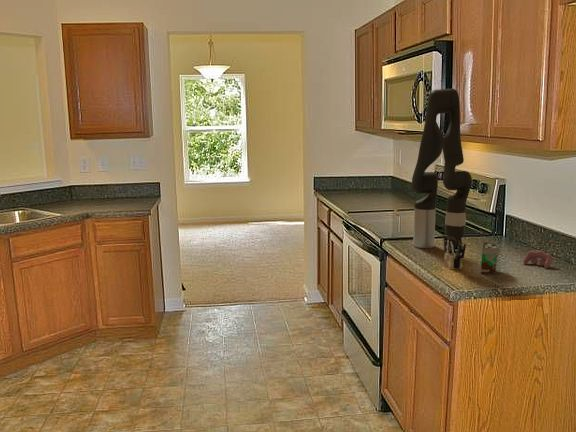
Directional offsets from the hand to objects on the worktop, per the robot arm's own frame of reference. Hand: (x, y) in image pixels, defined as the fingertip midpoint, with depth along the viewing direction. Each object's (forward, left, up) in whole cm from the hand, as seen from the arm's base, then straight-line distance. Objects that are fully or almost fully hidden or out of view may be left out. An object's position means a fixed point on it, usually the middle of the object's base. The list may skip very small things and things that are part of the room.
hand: (453, 265), depth 217 cm
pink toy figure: (+5, +33, -1) cm, 34 cm away
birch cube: (0, 0, 0) cm, 0 cm away
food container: (+8, +11, -1) cm, 14 cm away
